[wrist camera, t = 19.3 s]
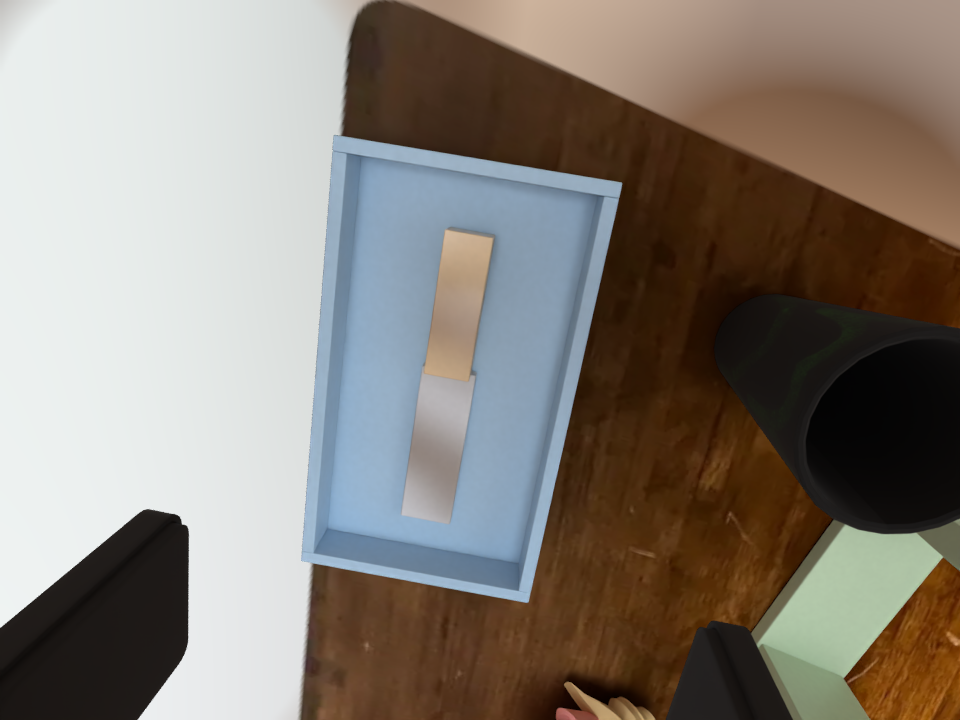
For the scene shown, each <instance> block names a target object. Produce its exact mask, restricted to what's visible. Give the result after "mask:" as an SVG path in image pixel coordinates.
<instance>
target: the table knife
mask: <svg viewBox="0 0 960 720" xmlns="http://www.w3.org/2000/svg"><path fill="white" fill-rule="evenodd" d="M494 241H495V235H494V234H488V233H483V232H477V231H472V230H466V229H460V228H455V227H449V228H447V229H445V231H444V238H443V245H442V252H441V259H440V265H439V272H438V279H437V286H436V293H435V299H434V306H433V313H432V320H431V327H430V334H429V340H428V347H427V354H426V361H425V363H424V364H423V366H422V371H421V377H420V384H419V391H418V398H417V405H416V412H415V419H414V426H413V432H412V439H411V446H410V453H409V460H408V467H407V474H406V481H405V488H404V494H403V501H402V508H401V515H402V516H408V517H413V518H418V519H423V520H429V521H434V522H439V523H444V524H450V522H451V517H452V512H453V506H454V500H455V495H456V489H457V483H458V478H459V472H460V466H461V461H462V455H463V449H464V444H465V438H466V432H467V427H468V421H469V415H470V410H471V404H472V398H473V393H474V387H475V381H476V376H477V372H474V371H472V367H473V362H474V356H475V350H476V344H477V339H478V333H479V327H480V321H481V315H482V310H483V304H484V298H485V292H486V287H487V281H488V275H489V269H490V264H491V258H492V252H493V246H494Z"/></svg>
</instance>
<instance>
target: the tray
mask: <svg viewBox="0 0 960 720" xmlns="http://www.w3.org/2000/svg"><path fill="white" fill-rule="evenodd" d="M621 188H622V183H621V182H615V181H609V180H603V179H597V178H591V177H585V176H579V175H573V174H567V173H561V172H555V171H549V170H543V169H537V168H531V167H525V166H519V165H513V164H507V163H501V162H495V161H489V160H483V159H477V158H471V157H465V156H459V155H453V154H447V153H441V152H435V151H429V150H423V149H417V148H411V147H405V146H399V145H393V144H387V143H381V142H374V141H368V140H362V139H356V138H350V137H344V136H338V135H334V138H333V153H332V166H331V179H330V192H329V205H328V218H327V231H326V232H327V233H326V244H325V257H324V270H323V283H322V296H321V309H320V310H321V311H320V323H319V336H318V349H317V361H316V375H315V389H314V402H313V414H312V427H311V441H310V453H309V466H308V479H307V492H306V506H305V518H304V531H303V544H302V558H301V561H304V562H310V563H315V564H320V565H326V566H331V567H337V568H342V569H347V570H353V571H358V572H364V573H369V574H374V575H380V576H385V577H391V578H396V579H401V580H407V581H412V582H418V583H423V584H429V585H434V586H439V587H445V588H450V589H456V590H461V591H466V592H472V593H477V594H483V595H488V596H493V597H499V598H504V599H510V600H515V601H520V602H526V603H528V602H529V597H530V592H531V588H532V584H533V579H534V575H535V571H536V566H537V562H538V557H539V553H540V548H541V544H542V539H543V535H544V530H545V526H546V522H547V517H548V513H549V508H550V504H551V499H552V495H553V490H554V486H555V481H556V477H557V473H558V468H559V464H560V459H561V455H562V450H563V446H564V441H565V437H566V432H567V428H568V424H569V419H570V415H571V410H572V406H573V401H574V397H575V392H576V388H577V383H578V379H579V374H580V370H581V366H582V361H583V357H584V352H585V348H586V343H587V339H588V334H589V330H590V325H591V321H592V317H593V312H594V308H595V303H596V299H597V294H598V290H599V285H600V281H601V276H602V272H603V268H604V263H605V259H606V254H607V250H608V245H609V241H610V236H611V232H612V227H613V223H614V219H615V214H616V210H617V205H618V201H619V199H618V198H619V196H620V192H621ZM449 227H455V228H460V229H466V230H472V231H477V232H483V233H488V234H494V235H495V241H494V246H493V252H492V258H491V264H490V269H489V275H488V281H487V287H486V292H485V298H484V304H483V310H482V315H481V321H480V327H479V333H478V339H477V344H476V350H475V356H474V362H473V367H472V371H474V372H477V376H476V381H475V387H474V393H473V398H472V404H471V410H470V415H469V421H468V427H467V432H466V438H465V444H464V449H463V455H462V461H461V466H460V472H459V478H458V483H457V489H456V495H455V500H454V506H453V512H452V517H451V522H450V524H444V523H439V522H434V521H429V520H423V519H418V518H413V517H408V516H402V515H401V508H402V501H403V494H404V488H405V481H406V474H407V467H408V460H409V453H410V446H411V439H412V432H413V426H414V419H415V412H416V405H417V398H418V391H419V384H420V377H421V371H422V366H423V364H424V363H425V361H426V354H427V347H428V340H429V334H430V327H431V320H432V313H433V306H434V299H435V293H436V286H437V279H438V272H439V265H440V259H441V252H442V245H443V238H444V231H445V229H447V228H449Z"/></svg>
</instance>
